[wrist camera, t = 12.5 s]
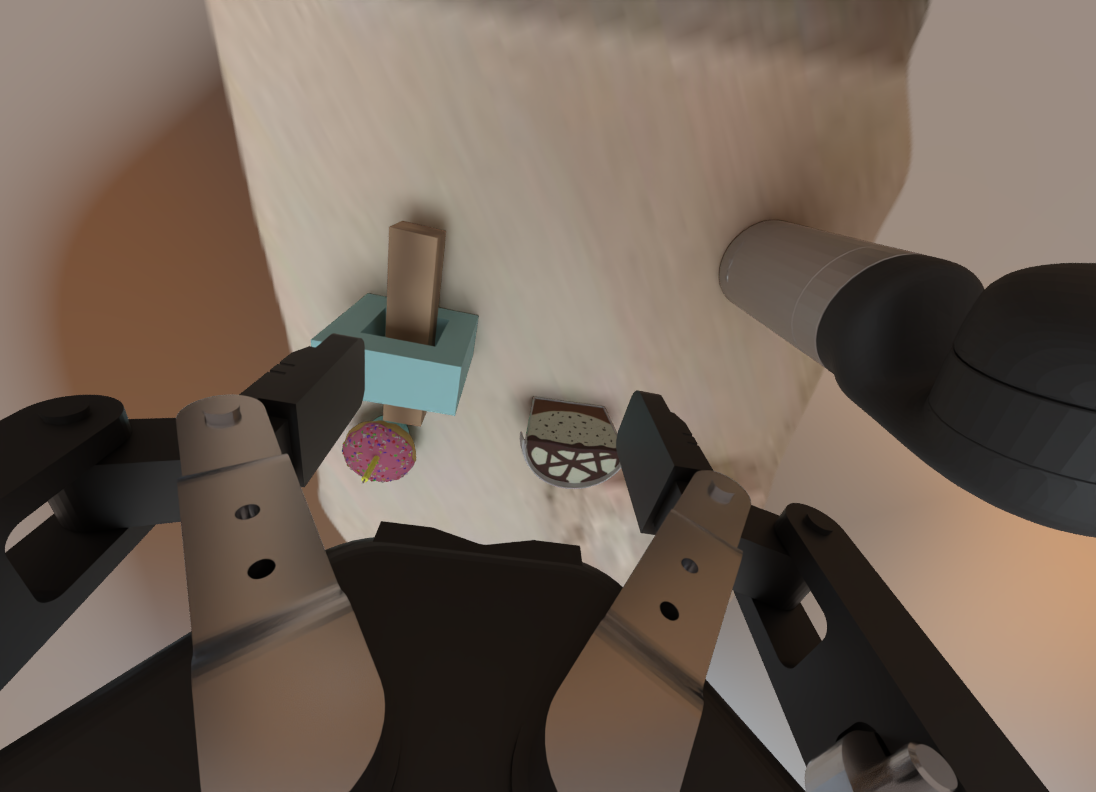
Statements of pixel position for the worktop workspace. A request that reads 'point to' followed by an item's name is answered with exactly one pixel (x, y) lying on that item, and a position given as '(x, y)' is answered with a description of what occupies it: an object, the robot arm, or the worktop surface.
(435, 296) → the brown rectangular block
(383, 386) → the light blue hollow block
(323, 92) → the worktop surface
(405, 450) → the cupcake
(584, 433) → the food container
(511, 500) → the worktop surface
